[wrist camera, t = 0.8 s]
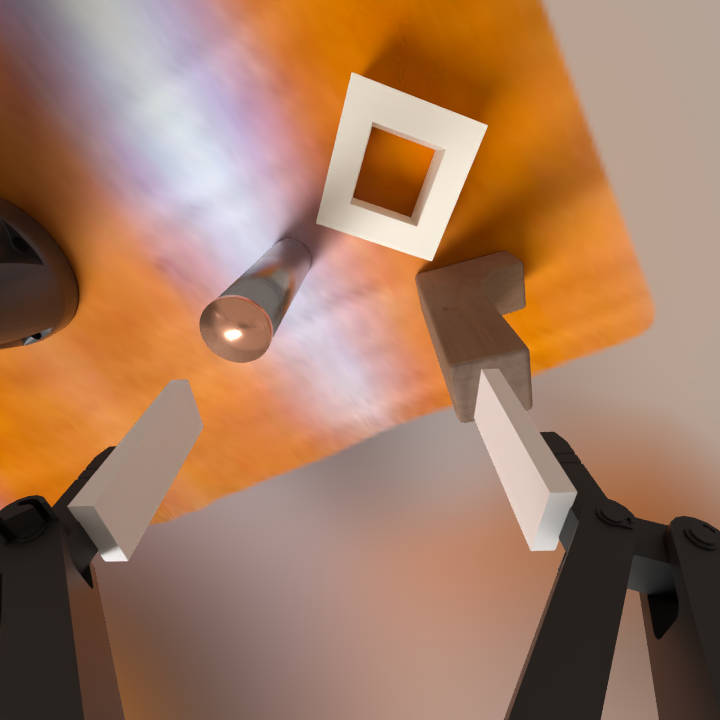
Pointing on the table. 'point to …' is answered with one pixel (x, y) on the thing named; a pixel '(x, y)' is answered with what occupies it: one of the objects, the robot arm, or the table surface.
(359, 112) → the socket
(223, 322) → the peg
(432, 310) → the wooden block
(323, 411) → the table surface
